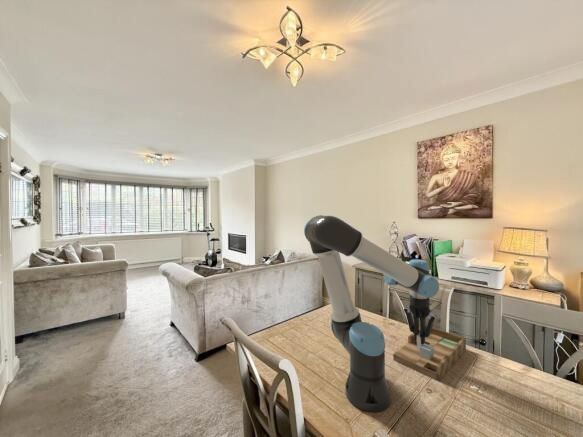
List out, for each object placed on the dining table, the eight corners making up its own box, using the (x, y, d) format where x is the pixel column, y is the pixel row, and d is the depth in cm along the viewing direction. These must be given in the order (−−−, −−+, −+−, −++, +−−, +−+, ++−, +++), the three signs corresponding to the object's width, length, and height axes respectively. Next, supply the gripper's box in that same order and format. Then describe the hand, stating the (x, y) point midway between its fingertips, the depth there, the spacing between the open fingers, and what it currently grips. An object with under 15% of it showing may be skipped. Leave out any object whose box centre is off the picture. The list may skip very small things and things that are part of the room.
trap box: (439, 381, 92) (439, 367, 91) (393, 360, 105) (393, 347, 105) (465, 349, 112) (465, 338, 112) (424, 335, 126) (424, 324, 126)
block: (429, 360, 101) (430, 350, 100) (419, 355, 104) (419, 346, 104) (433, 356, 103) (433, 347, 103) (423, 352, 106) (423, 343, 106)
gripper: (439, 297, 103) (439, 353, 103) (408, 290, 112) (408, 341, 113) (432, 302, 98) (432, 360, 98) (400, 294, 108) (400, 347, 108)
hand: (419, 350), depth 106 cm, fingers closed
